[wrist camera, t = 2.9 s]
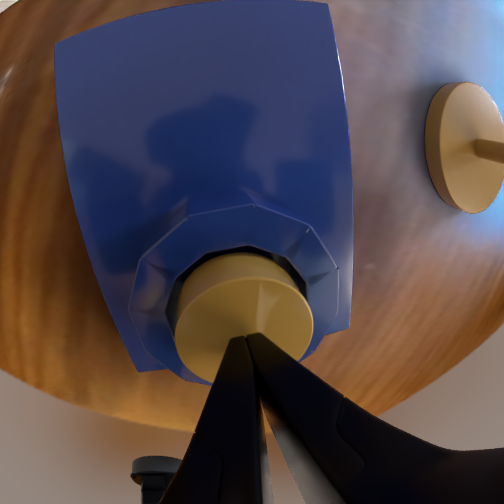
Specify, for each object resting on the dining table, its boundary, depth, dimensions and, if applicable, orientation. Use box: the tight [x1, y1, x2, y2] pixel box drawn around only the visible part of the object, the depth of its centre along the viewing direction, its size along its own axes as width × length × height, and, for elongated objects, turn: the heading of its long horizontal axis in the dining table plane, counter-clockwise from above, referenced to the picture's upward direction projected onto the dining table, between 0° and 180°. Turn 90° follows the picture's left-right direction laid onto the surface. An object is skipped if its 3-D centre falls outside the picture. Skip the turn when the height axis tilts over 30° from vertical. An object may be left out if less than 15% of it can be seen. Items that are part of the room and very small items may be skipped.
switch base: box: [54, 0, 354, 386], centre depth 9 cm, size 14×10×4 cm
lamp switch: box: [175, 252, 314, 383], centre depth 9 cm, size 4×4×2 cm
